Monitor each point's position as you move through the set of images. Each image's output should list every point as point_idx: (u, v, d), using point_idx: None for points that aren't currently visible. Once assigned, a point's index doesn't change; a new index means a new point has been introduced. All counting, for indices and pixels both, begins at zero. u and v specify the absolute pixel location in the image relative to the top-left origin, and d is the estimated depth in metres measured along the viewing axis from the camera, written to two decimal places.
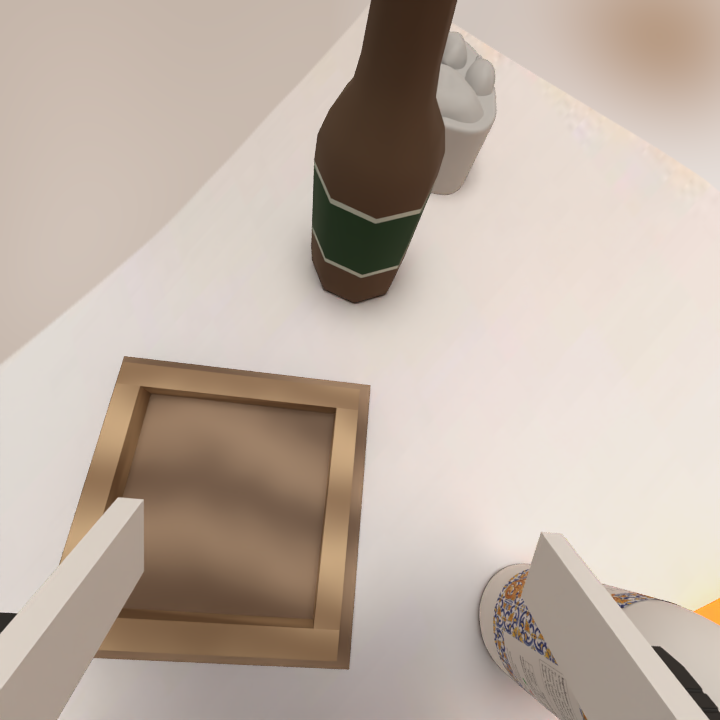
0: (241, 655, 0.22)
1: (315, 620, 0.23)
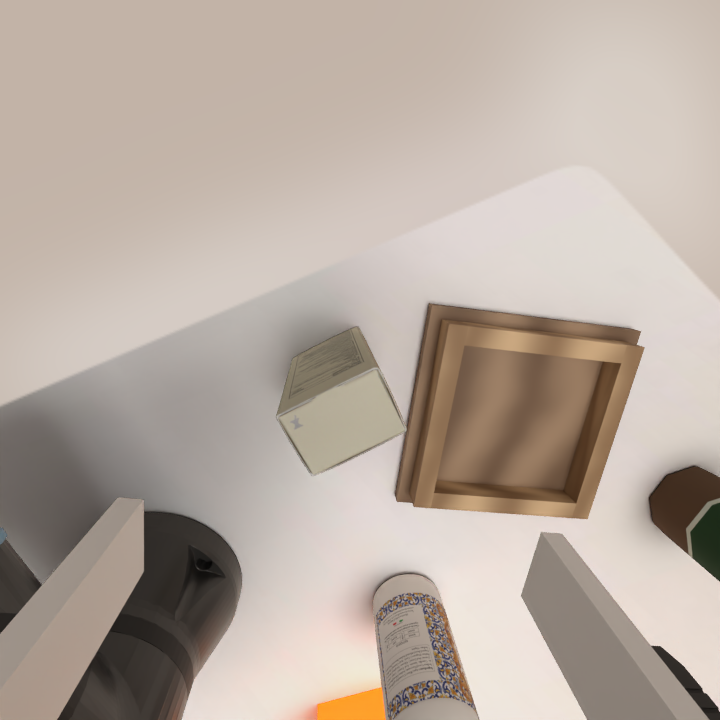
0: (425, 451, 0.32)
1: (438, 493, 0.34)
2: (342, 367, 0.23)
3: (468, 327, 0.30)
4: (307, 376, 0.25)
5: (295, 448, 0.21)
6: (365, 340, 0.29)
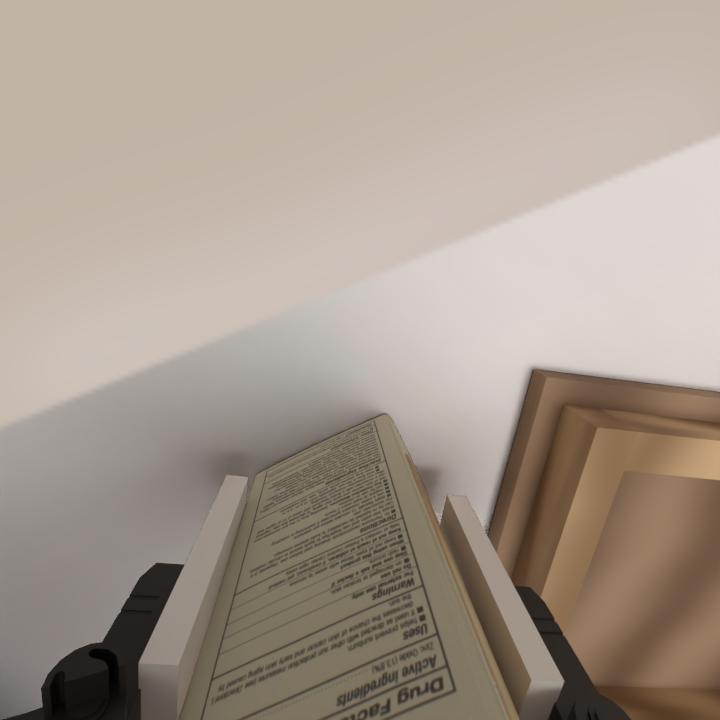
0: None
1: None
2: (371, 667, 0.07)
3: (637, 434, 0.13)
4: (263, 631, 0.09)
5: None
6: (412, 467, 0.13)
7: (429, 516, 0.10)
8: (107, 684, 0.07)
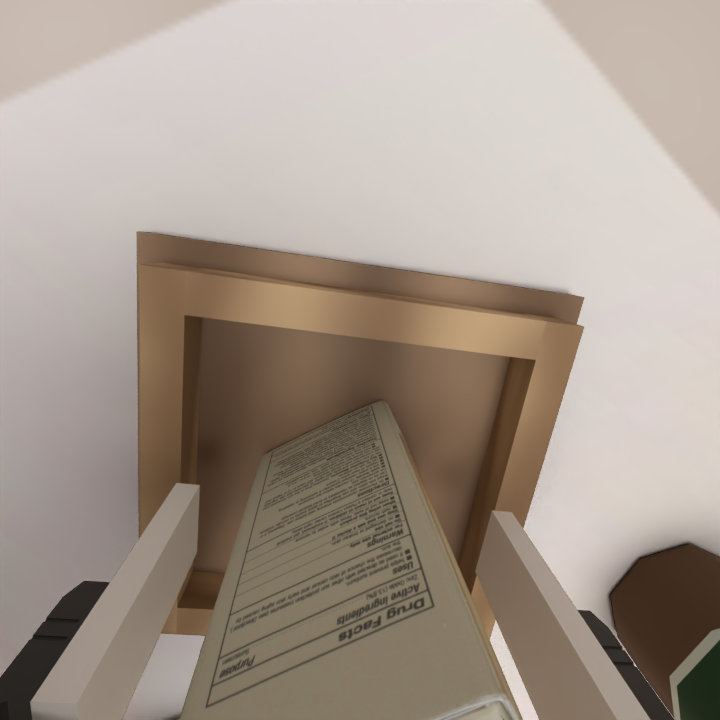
0: (142, 532, 0.16)
1: (186, 609, 0.17)
2: (365, 595, 0.08)
3: (186, 274, 0.13)
4: (274, 576, 0.10)
5: None
6: (405, 445, 0.14)
7: (418, 482, 0.11)
8: None
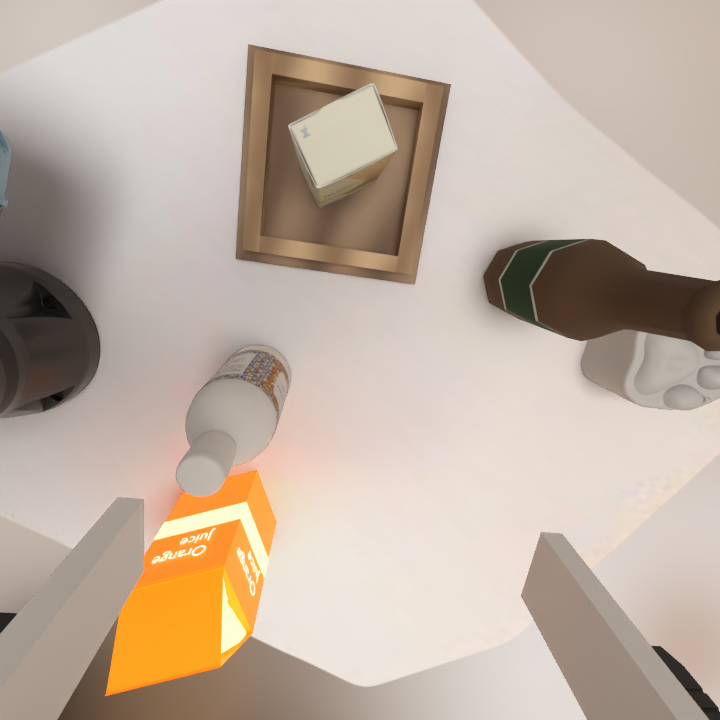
0: (246, 188, 0.35)
1: (264, 236, 0.36)
2: None
3: (273, 54, 0.32)
4: None
5: (303, 159, 0.26)
6: None
7: None
8: None
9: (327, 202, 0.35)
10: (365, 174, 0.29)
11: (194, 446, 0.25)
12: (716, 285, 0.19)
